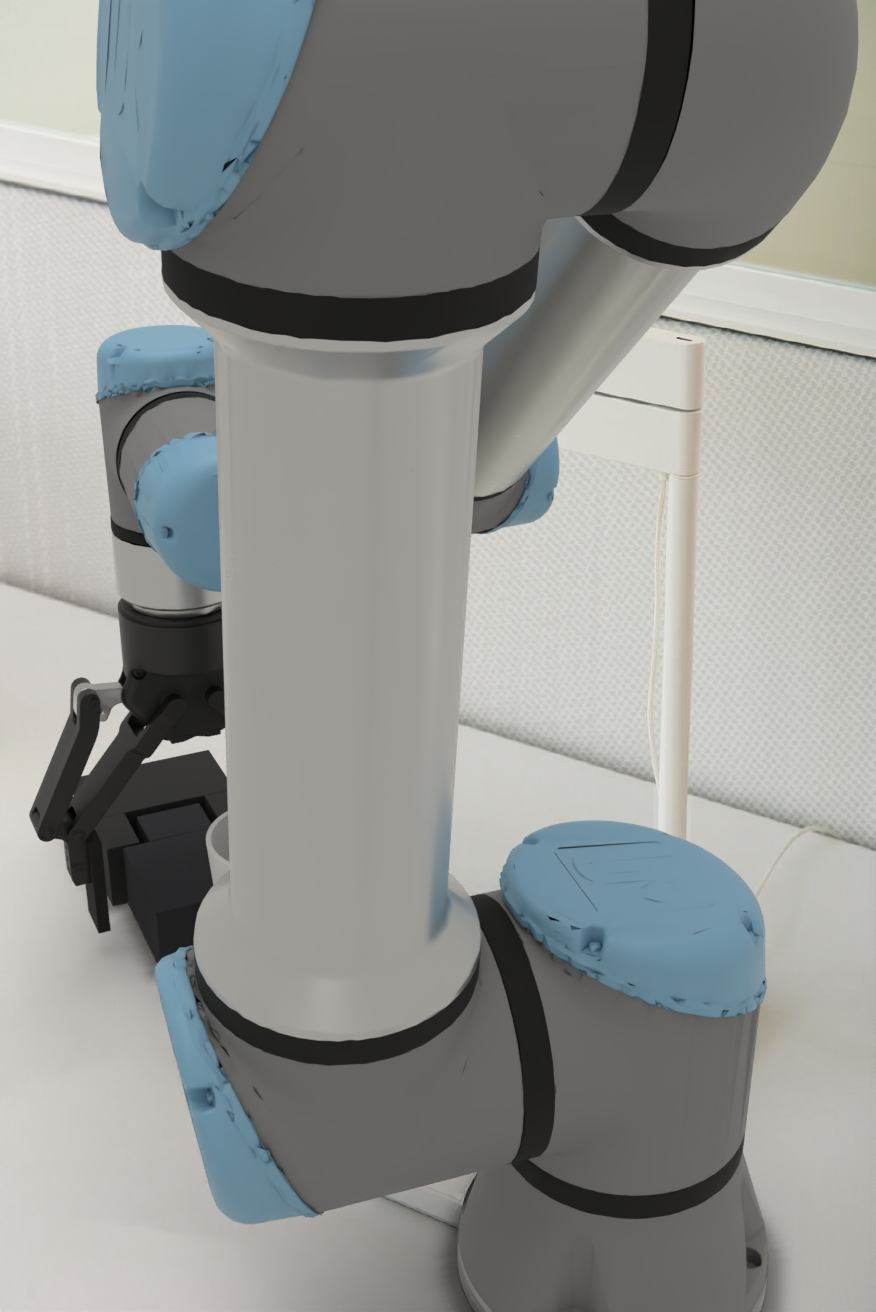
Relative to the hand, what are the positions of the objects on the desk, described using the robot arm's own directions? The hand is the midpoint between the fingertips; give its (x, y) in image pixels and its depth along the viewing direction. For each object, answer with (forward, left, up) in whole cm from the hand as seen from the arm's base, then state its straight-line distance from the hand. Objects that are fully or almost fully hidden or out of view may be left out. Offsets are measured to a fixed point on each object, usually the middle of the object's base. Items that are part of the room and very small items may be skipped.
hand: (203, 896), depth 105 cm
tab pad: (+2, 0, -2) cm, 3 cm away
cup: (-9, -2, -3) cm, 10 cm away
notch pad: (+10, 0, -2) cm, 10 cm away
